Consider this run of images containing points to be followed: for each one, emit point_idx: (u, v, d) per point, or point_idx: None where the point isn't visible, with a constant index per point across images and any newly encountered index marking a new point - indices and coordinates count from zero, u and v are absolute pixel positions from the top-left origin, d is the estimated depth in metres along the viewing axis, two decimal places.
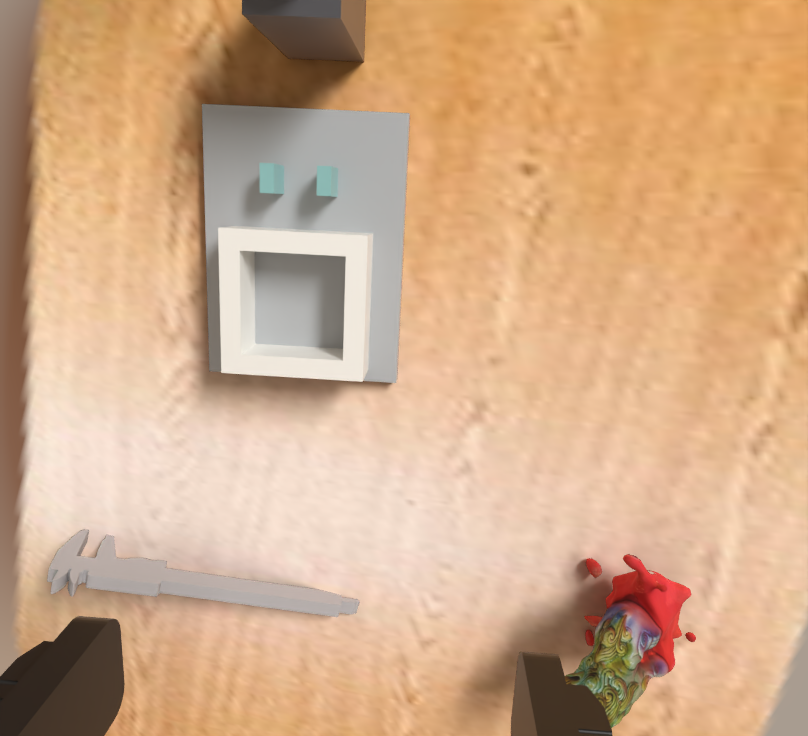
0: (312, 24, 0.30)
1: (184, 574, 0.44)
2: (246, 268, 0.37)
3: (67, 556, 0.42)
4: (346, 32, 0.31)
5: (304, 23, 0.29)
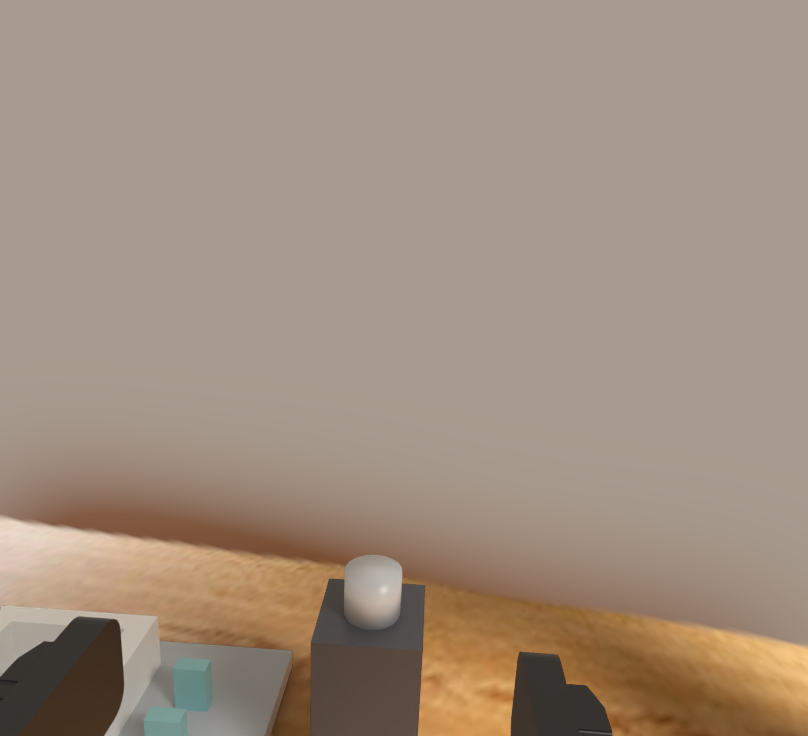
0: None
1: None
2: None
3: None
4: (311, 692, 0.26)
5: None
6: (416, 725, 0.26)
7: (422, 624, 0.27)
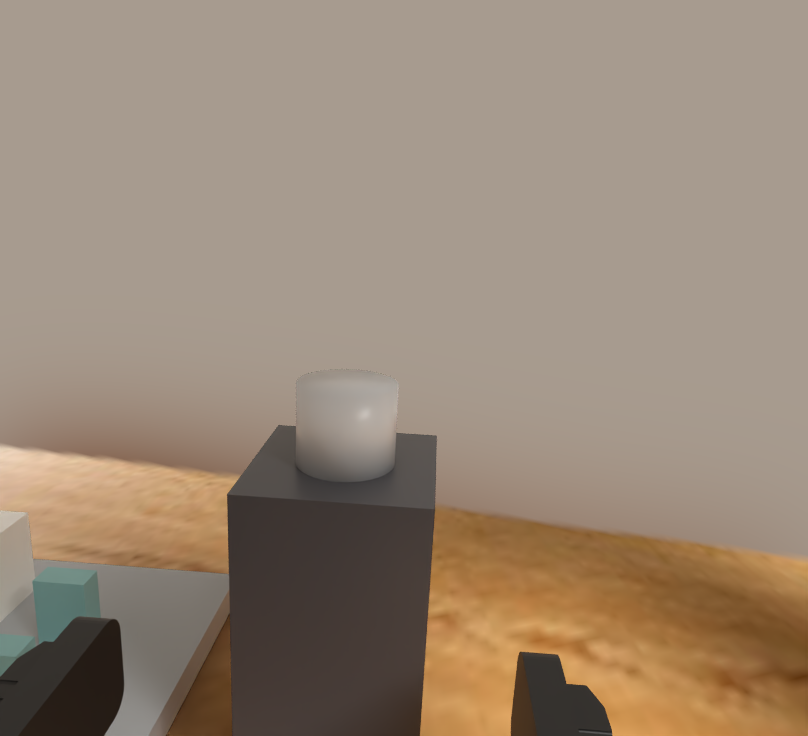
0: None
1: None
2: None
3: None
4: (230, 593, 0.14)
5: None
6: (421, 655, 0.14)
7: (433, 477, 0.15)
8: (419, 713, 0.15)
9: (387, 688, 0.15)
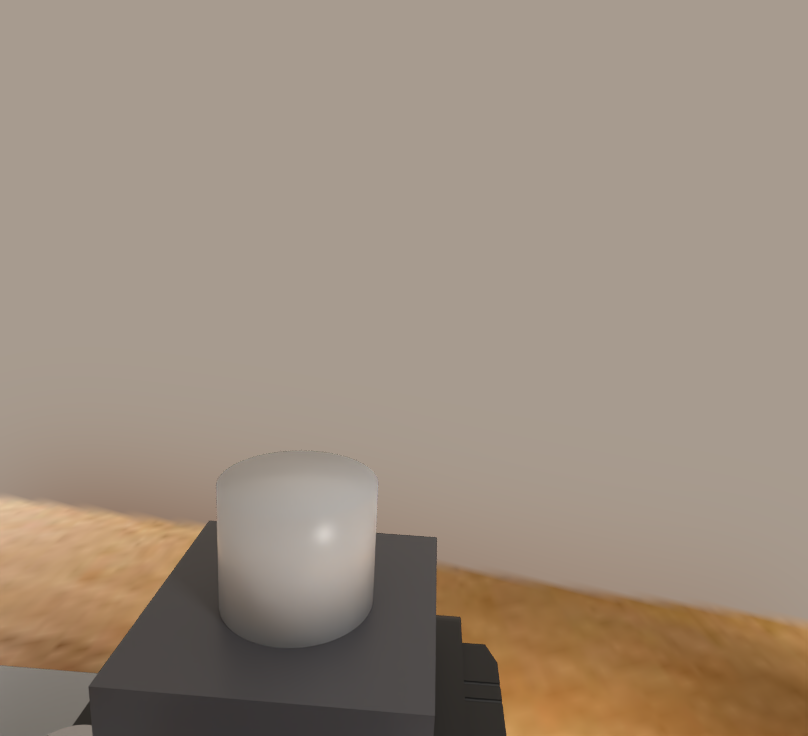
0: None
1: None
2: None
3: None
4: None
5: None
6: None
7: (432, 632, 0.10)
8: None
9: None
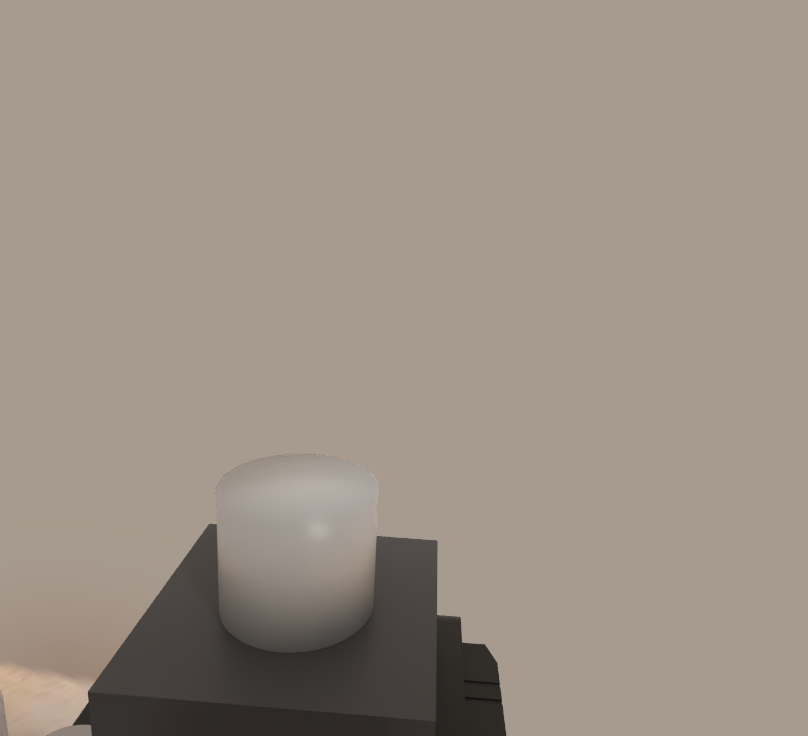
0: None
1: None
2: None
3: None
4: None
5: None
6: None
7: (433, 636, 0.09)
8: None
9: None
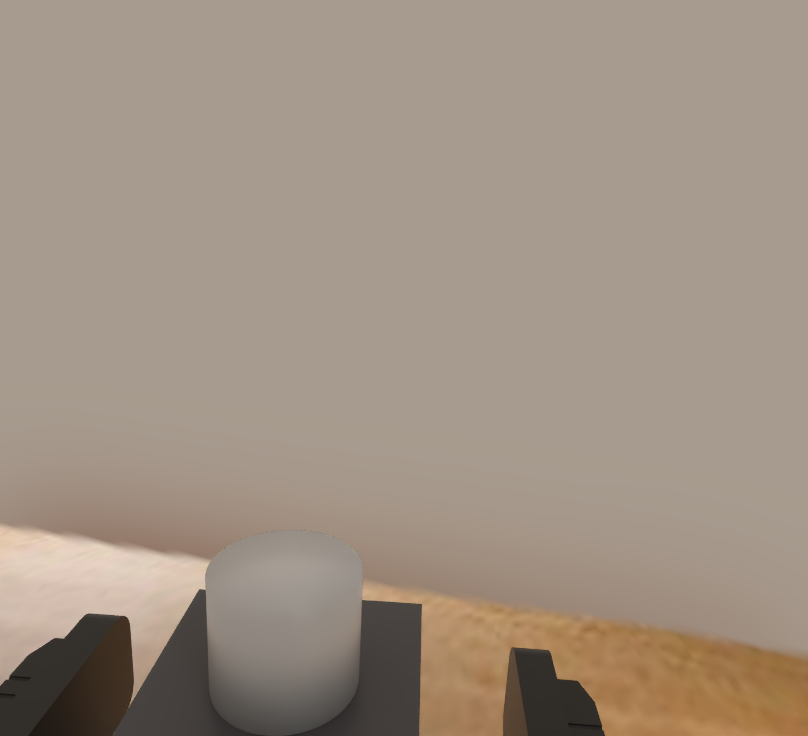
0: None
1: None
2: None
3: None
4: None
5: None
6: None
7: (416, 714, 0.10)
8: None
9: None
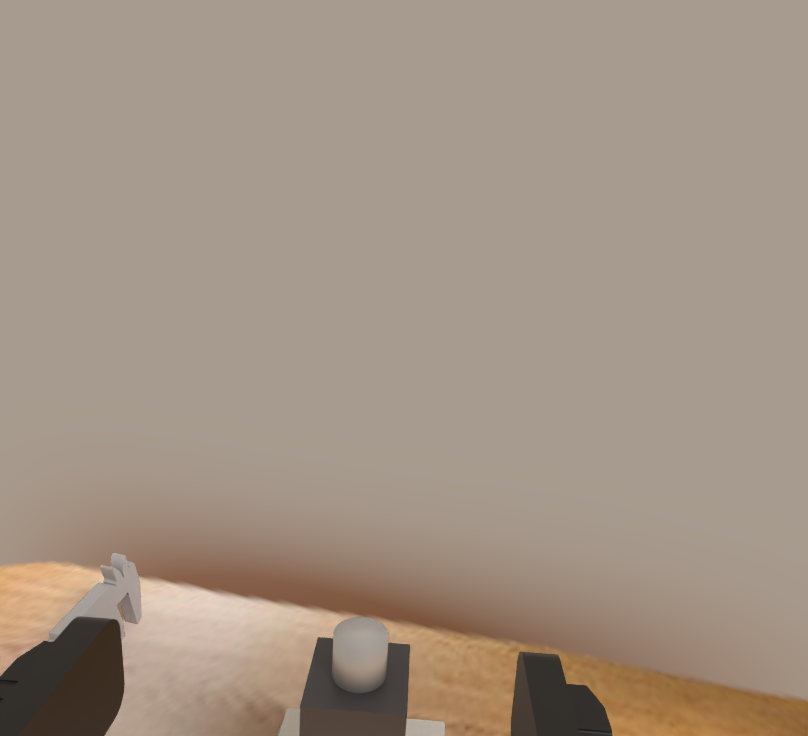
0: None
1: None
2: None
3: (131, 584, 0.45)
4: None
5: None
6: None
7: (407, 687, 0.28)
8: None
9: None
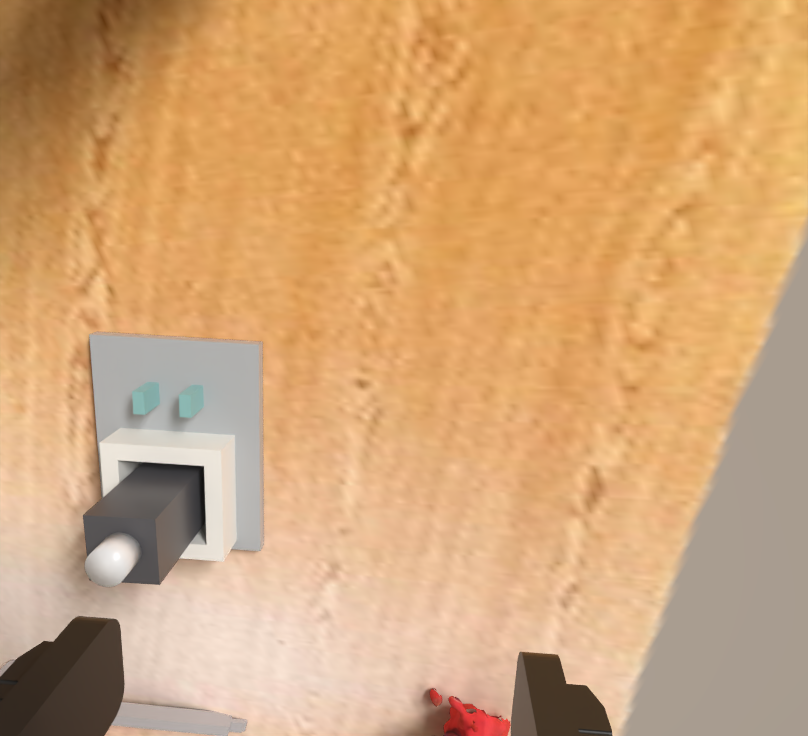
0: None
1: None
2: (127, 468, 0.45)
3: None
4: (174, 562, 0.42)
5: None
6: (178, 493, 0.42)
7: (129, 518, 0.38)
8: (187, 483, 0.43)
9: (185, 497, 0.43)
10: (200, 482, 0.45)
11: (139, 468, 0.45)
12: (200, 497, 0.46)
